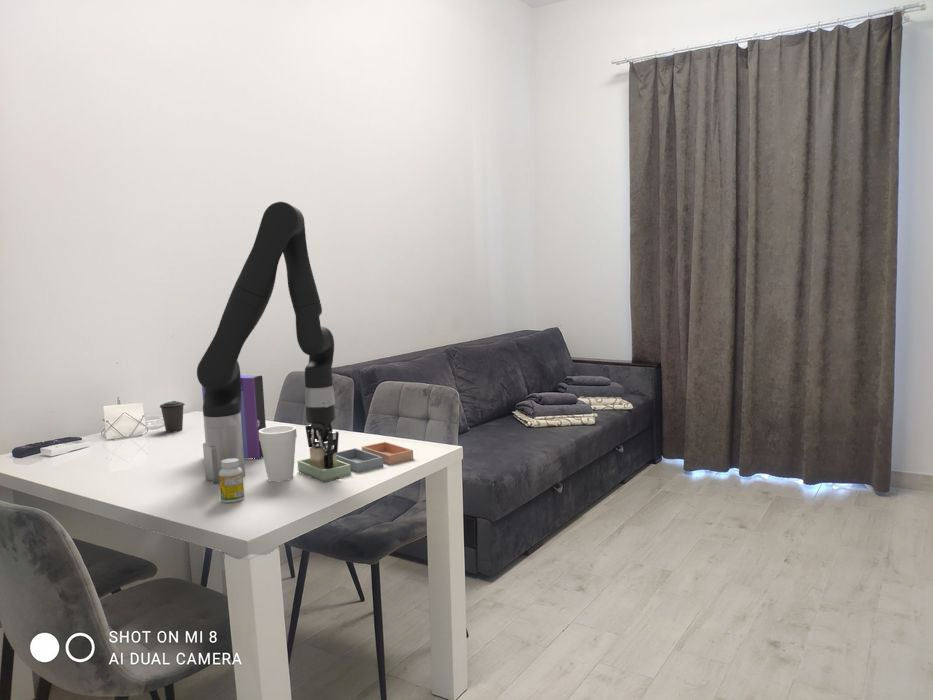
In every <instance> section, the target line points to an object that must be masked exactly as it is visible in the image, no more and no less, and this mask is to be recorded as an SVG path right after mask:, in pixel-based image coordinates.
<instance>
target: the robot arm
mask: <svg viewBox="0 0 933 700" xmlns="http://www.w3.org/2000/svg"><path fill="white" fill-rule="evenodd" d="M305 224H306V223H305V218H304V215H303V213H302V211H300V209H299V208H297V207H296V206H294V205H292V204H291V203H289V202H286V201H277V202H276V201H275V202H274V203H271V204H270V205H269V206H267V207H266V209H265V211H264V212H263V215H262V217H261V220H260V224H259V227H258V230H257V233H256V237H255V240H254V243H253V245H252V248H251V250H250V251H249V255H248V257H247V258H246V260H245V262H244V264H243V267H241V268H242V269H241V271H240V274H239V275H238V278H237V279H236V282H235V284H234V285H233V288H232V291H231V293H230V295H229V298H228V300H227V303H226V306H225V308H224V310H223V313H222V315H221V318H220V321H219V324H218V327H217V329H216V332H215V334H214V336H213V338H212V340H211V341H210V344H209V345H208V347H207V349H206V351H205V352H204V354H203V355H202V357H201V359H200V361H199V363H198V365H197V368H196V377H197V381H198V383H199V384H200V385H201V387H202V386H203V387H204V388H205V400H204V404H202V415H203V426H204V427H203V428H204V439H205V440H204V443H203V444H202V449H203V450H202V451H203V464H204V476H205V479H206V480H207V479H208V480H207V481H209V482H211V483H212V482H213V483H212V484H217V483H220V481H219V472H220V470H221V469H223V468H222V466H221V461H222V460H225V459H230V458H236V459H239V466H238V467H240V468H241V469H242V471H243V478H244V477H245V476H246V472H245V471H246V468H245V459H244V452H243V439H242V425H241V412H240V403H241V376H240V375H241V368H240V364H239V361H238V359H239V356H240V354H241V351H242V348H243V346H244V344H245V342H246V341H247V339H248V337H249V336H250V335H251V333H253V331H254V329H255V328H256V326H257V325H258V323H259V321H260V320H261V318H262V316H263V314H264V313H265V310H266V308H267V306H268V304H269V302H270V299H271V297H272V293H273V291H274V288H275V283H276V277H277V271H278V266H279V264H280V263H279V262H280V259H281V257H282V255H283V257H284V263H285V268H286V275H287V276H286V277H287V279H286V280H287V289H288V293H289V297H290V300H291V305H292V308H293V311H294V315H295V330H296V331H295V332H296V340H297V343H298V346H299V348H300V350H301V351H302V352H303V354H306V355H307V356H308V364H307V365H306V366H305V368H304V387H305V392H304V400H305V402H304V403H305V418H306V420H305V421H306V422H307V423H308V425H305V432H306V433H305V434H306V439H307V444H308V448H313V447H318V446H321V447H322V448H323V452H324V466H325V469H331V468H333V454H334V453H337V452H339V450H338V449H339V431H338V430H337V431H334V430H333V427H332V423H333V422H334V421H335V420H336V403H335V402H336V401H335V392H334V391H335V390H334V386H333V383H334V381H333V371H332V368H333V361H334V352H335V340H334V336H333V333H332V332H331V330H330V329H329V328H327V327H325V326H322V325H321V320H320V319H321V318H320V316H321V314H322V313H323V308H322V303H321V299H320V296H319V292H318V288H317V285H316V281H315V280H316V279H315V278H314V273H313V270H312V267H311V263H310V262H311V261H310V257H309V251H308V247H307V237H306V236H307V235H306V226H305ZM326 446H327V448H326ZM333 447H334V448H333Z"/></svg>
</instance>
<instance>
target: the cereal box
mask: <svg viewBox="0 0 933 700" xmlns="http://www.w3.org/2000/svg"><path fill="white" fill-rule="evenodd" d="M240 376H241V403H240V412H241V425H242V439H243V452H244V458H253V459H252V460H257V459H259V458H261V457H263V453H262V448H261V443H260V441H259V432H258V431H259V430H260V429H263V428H266V427H267V425H266V410H265V397H264V396H265V395H264V382H263V381H264V380H263V379H264V378H263V375H247V374H245V375H241V374H240ZM201 391H202V401H203V402H202V403H203V404H204V400H205V388H204V387H203V386H202V385H201ZM203 404H202V405H203ZM254 458H255V459H254ZM261 459H262V458H261ZM259 460H260V459H259Z"/></svg>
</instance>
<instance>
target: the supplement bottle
mask: <svg viewBox="0 0 933 700" xmlns="http://www.w3.org/2000/svg"><path fill="white" fill-rule="evenodd" d="M221 466H222V468H223V469H221V470H220V472H219V481H220V482H219V492H220V493H219V495H220V501H221V502H222V503H224V502H227V503H226V504H230V503H229V502H234V503H237V501H239V502H242V501H243V500H244V499H245V487H244V477H243V471H242V469H241V468H240V467H238V466H239V459H236V458H230V459H225V460H222V461H221Z"/></svg>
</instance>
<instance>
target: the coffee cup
mask: <svg viewBox="0 0 933 700" xmlns="http://www.w3.org/2000/svg"><path fill="white" fill-rule="evenodd" d="M185 404H186V403H185V402H182V401H177V400H171V401H168V402H165V403H162V404H160V406H159V408H160V409H161V414H162V419H163V423H164V428H165V429H164V430H165V432H166V431H169V432H168V433H175V432H174V431H177V432H181V431H183V428H184V427H183V426H184V423H183V422H184V406H185ZM180 430H181V431H180Z"/></svg>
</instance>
